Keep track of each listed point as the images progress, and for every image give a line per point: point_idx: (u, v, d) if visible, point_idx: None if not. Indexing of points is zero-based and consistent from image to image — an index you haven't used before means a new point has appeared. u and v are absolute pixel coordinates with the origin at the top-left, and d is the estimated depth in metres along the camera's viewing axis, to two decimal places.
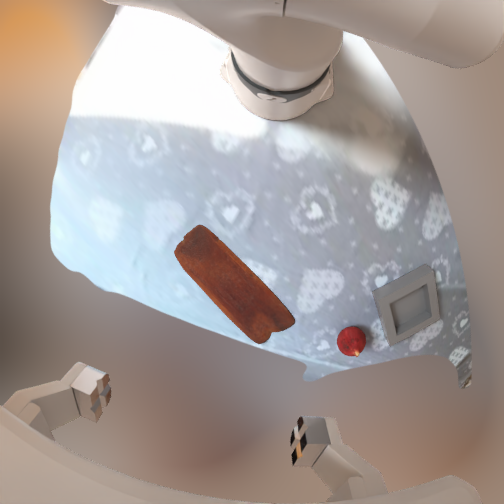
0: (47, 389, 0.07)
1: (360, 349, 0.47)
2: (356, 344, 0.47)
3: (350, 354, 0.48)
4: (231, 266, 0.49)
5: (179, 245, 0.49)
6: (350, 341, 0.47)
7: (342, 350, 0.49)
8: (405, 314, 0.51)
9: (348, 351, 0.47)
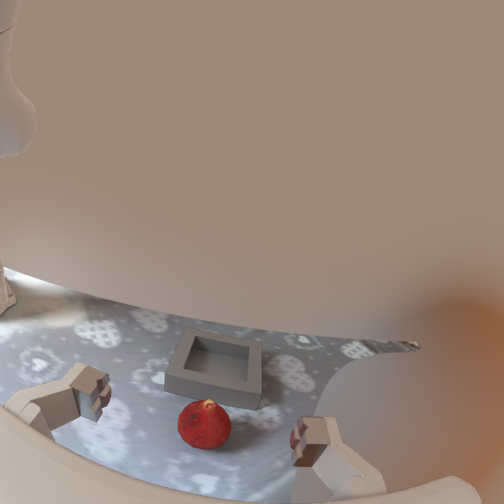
0: (47, 389, 0.07)
1: None
2: (195, 403, 0.25)
3: (210, 418, 0.24)
4: None
5: None
6: (187, 411, 0.24)
7: (200, 431, 0.23)
8: (231, 376, 0.39)
9: (200, 417, 0.23)
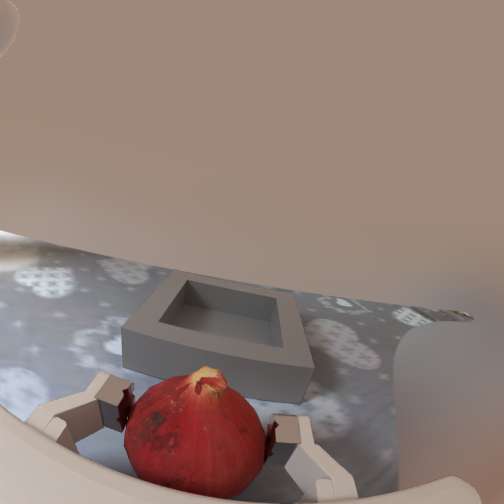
0: (71, 402, 0.07)
1: None
2: (168, 380, 0.09)
3: (209, 424, 0.07)
4: None
5: None
6: (142, 403, 0.08)
7: (179, 465, 0.06)
8: None
9: (179, 422, 0.07)
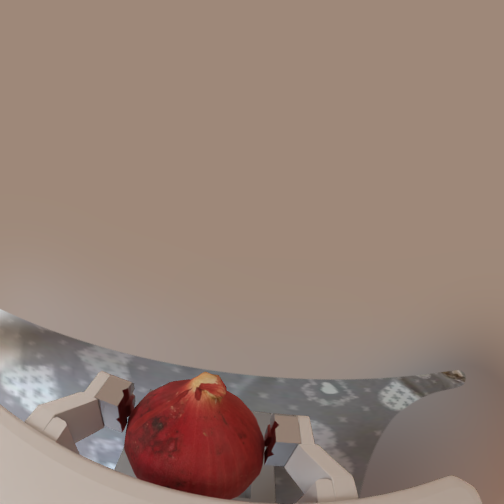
0: (71, 402, 0.07)
1: None
2: (168, 385, 0.09)
3: (209, 430, 0.07)
4: None
5: None
6: (143, 408, 0.08)
7: (179, 469, 0.07)
8: None
9: (179, 427, 0.07)
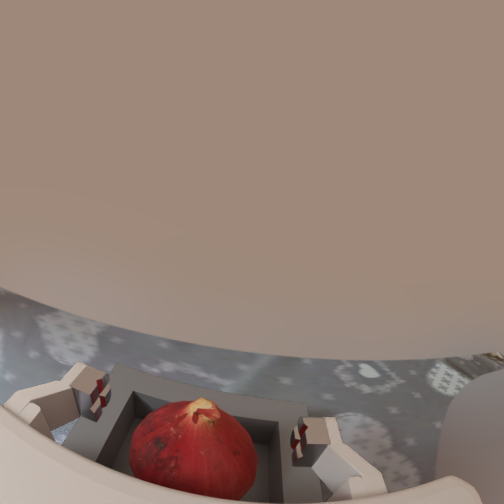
0: (47, 389, 0.07)
1: None
2: (167, 407, 0.09)
3: (206, 449, 0.08)
4: None
5: None
6: (145, 428, 0.09)
7: (179, 483, 0.07)
8: None
9: (179, 447, 0.08)
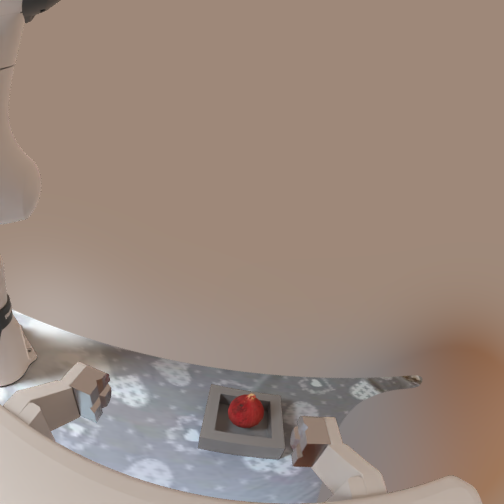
0: (47, 389, 0.07)
1: None
2: (241, 396, 0.39)
3: (252, 405, 0.38)
4: None
5: None
6: (236, 402, 0.39)
7: (246, 414, 0.37)
8: (255, 429, 0.40)
9: (246, 405, 0.38)
